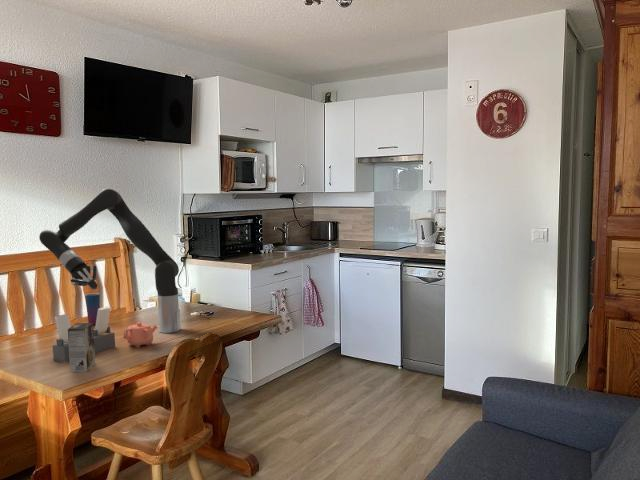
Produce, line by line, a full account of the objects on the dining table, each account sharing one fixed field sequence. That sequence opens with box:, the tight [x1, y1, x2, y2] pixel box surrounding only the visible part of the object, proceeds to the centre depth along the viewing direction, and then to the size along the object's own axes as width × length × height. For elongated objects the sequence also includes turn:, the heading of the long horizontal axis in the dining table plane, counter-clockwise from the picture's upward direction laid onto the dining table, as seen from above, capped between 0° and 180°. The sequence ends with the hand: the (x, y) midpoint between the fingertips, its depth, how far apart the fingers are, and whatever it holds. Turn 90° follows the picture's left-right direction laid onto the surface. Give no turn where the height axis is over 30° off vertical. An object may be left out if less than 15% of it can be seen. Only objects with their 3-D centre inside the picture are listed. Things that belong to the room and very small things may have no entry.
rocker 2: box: [94, 306, 111, 334], centre depth 226 cm, size 2×5×11 cm, turn 152°
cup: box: [84, 292, 101, 326], centre depth 270 cm, size 7×7×15 cm
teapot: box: [123, 321, 158, 349], centre depth 231 cm, size 12×12×10 cm
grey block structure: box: [52, 325, 116, 363], centre depth 220 cm, size 7×24×8 cm, turn 152°
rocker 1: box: [54, 313, 72, 344], centre depth 213 cm, size 2×5×11 cm, turn 151°
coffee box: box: [68, 322, 96, 373], centre depth 200 cm, size 9×6×16 cm
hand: (95, 288), depth 236 cm, fingers closed
